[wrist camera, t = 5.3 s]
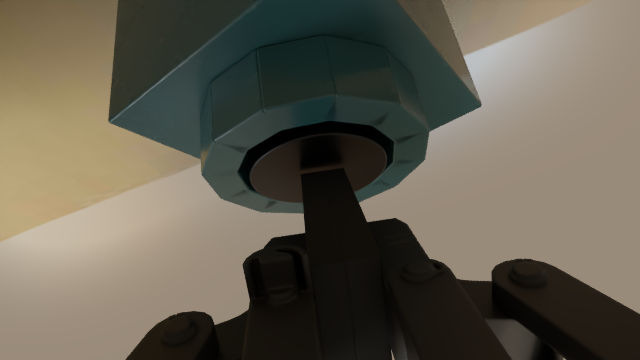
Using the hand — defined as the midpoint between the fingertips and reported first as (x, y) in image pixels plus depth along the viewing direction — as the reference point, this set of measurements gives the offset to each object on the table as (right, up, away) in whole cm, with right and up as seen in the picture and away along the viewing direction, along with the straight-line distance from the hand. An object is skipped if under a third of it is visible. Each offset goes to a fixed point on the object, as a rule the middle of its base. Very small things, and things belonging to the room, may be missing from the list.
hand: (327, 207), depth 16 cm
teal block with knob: (-2, +11, +5) cm, 12 cm away
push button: (-1, +3, +1) cm, 4 cm away
